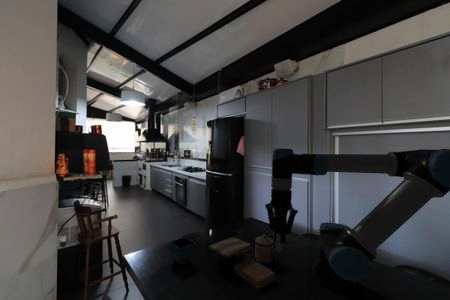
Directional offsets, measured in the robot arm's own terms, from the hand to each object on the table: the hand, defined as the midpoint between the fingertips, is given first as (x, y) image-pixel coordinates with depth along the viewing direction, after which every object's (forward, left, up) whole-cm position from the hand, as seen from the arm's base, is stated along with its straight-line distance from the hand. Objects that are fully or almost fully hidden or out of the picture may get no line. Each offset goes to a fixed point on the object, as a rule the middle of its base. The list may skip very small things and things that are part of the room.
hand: (279, 250), depth 80 cm
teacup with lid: (+18, -16, -16) cm, 29 cm away
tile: (+12, 0, -16) cm, 20 cm away
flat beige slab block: (+26, 0, -15) cm, 30 cm away
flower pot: (+42, +16, -16) cm, 47 cm away
